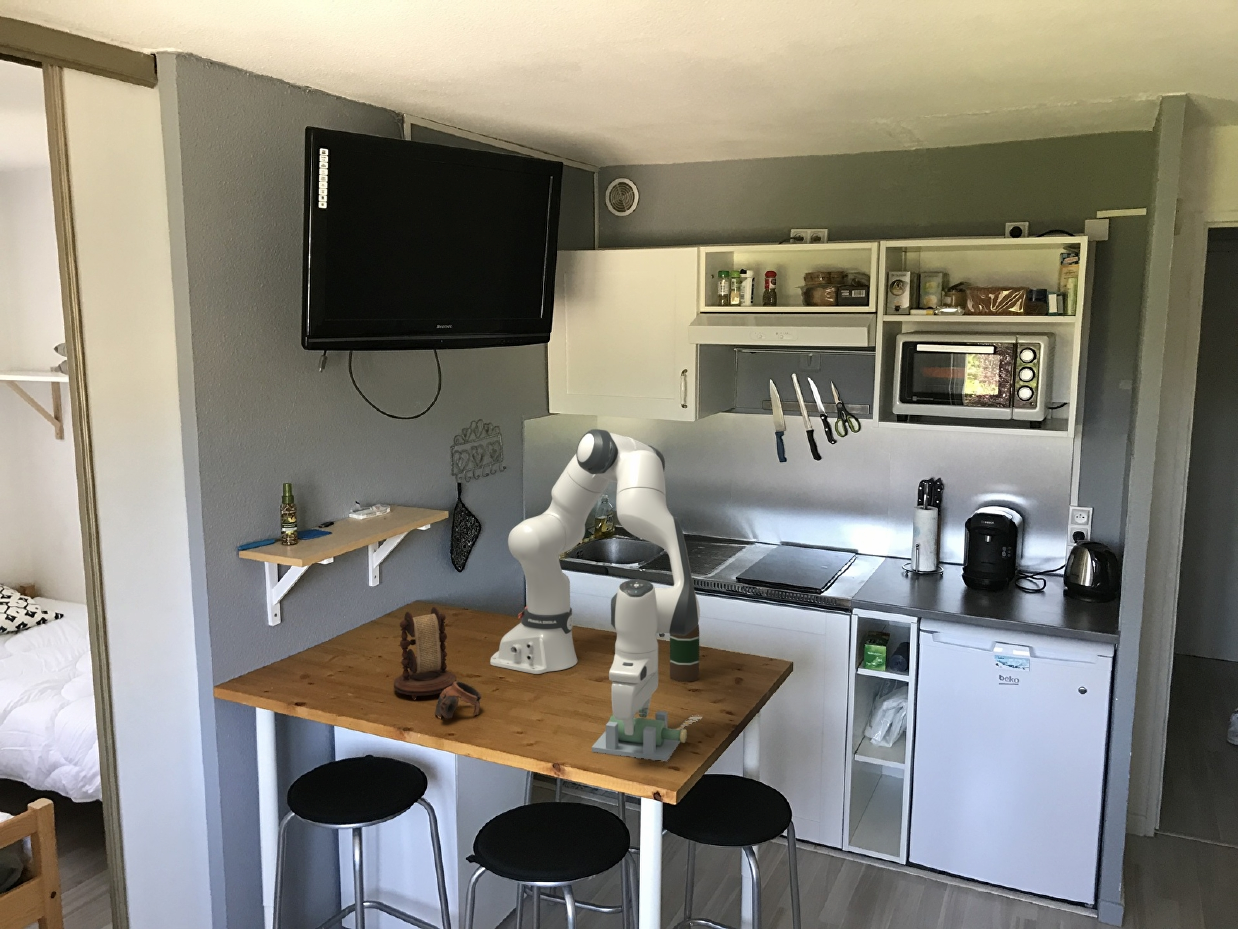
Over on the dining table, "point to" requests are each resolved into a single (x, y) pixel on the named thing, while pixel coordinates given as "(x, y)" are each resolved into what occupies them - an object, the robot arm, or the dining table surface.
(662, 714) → the rest
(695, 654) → the beer bottle
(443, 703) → the brown ring shaped device
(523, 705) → the dining table surface
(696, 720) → the butter knife
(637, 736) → the bottle
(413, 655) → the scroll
